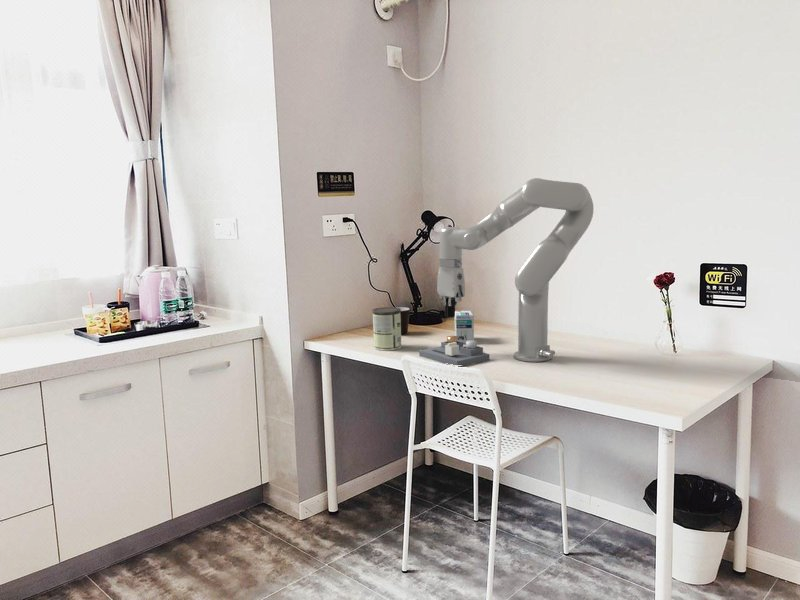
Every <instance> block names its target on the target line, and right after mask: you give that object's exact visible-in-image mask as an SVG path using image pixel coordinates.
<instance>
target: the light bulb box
mask: <svg viewBox="0 0 800 600" xmlns="http://www.w3.org/2000/svg"><path fill="white" fill-rule="evenodd" d="M453 318H454V336H457V341H459V342H463V345H464V344H465V345H466V341H469V340H474V341H475V333H474V331H475V330H474V328H475V326H474V314H473V312H472V310H455V317H453Z"/></svg>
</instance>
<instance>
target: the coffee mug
mask: <svg viewBox="0 0 800 600" xmlns="http://www.w3.org/2000/svg"><path fill="white" fill-rule="evenodd" d="M395 308H400V309H401V311H400V317H401V336H405V335H408V332H409V330H408V329H409V323H410V322H409V320H410V310H411V309H410V308H409V307H404V306H400V307H396V306H395Z"/></svg>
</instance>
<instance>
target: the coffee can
mask: <svg viewBox="0 0 800 600" xmlns="http://www.w3.org/2000/svg"><path fill="white" fill-rule="evenodd" d="M400 311H401V309H400V308H396V306H395V307H393V306H391V307H390V306H388V307H386V306H384V307H383V306H382V307H378V308H374V309H371V312H372V329H373V330H372V331H373V334H372V335H373V349H374V350H377V351H380V352H381V351H383V352H384V351H385V352H387V351H389V352H390V351H396V350H400V349H401V348H402V347H403V346H402V335H401V317H400Z"/></svg>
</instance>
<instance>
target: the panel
mask: <svg viewBox="0 0 800 600" xmlns="http://www.w3.org/2000/svg"><path fill="white" fill-rule="evenodd" d="M440 344H441V345H439V346H435V347H430V348H424V349H419V351H418V352H419V353H418V354H419V355H418V356H419V357H422V358H425V359H428V360H432V361H435V362H438V363H441V362H443V363H442V364H445V363H448V364H453V365H463V366H462V367H465V366H469V364H470V365H473V363H474V364H479V363H483V362H488V361H490V354H489V353H486V352H484V347H482V346H479V345H477V348H476V349H467V348H466V345H465V346H464V344H463V342H459V341H457V345H459V354H458V355H453V356H450V355H447V354H445V345H448V344H447V340H446V341H442V342H441V343H440ZM448 364H447V365H448Z"/></svg>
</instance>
